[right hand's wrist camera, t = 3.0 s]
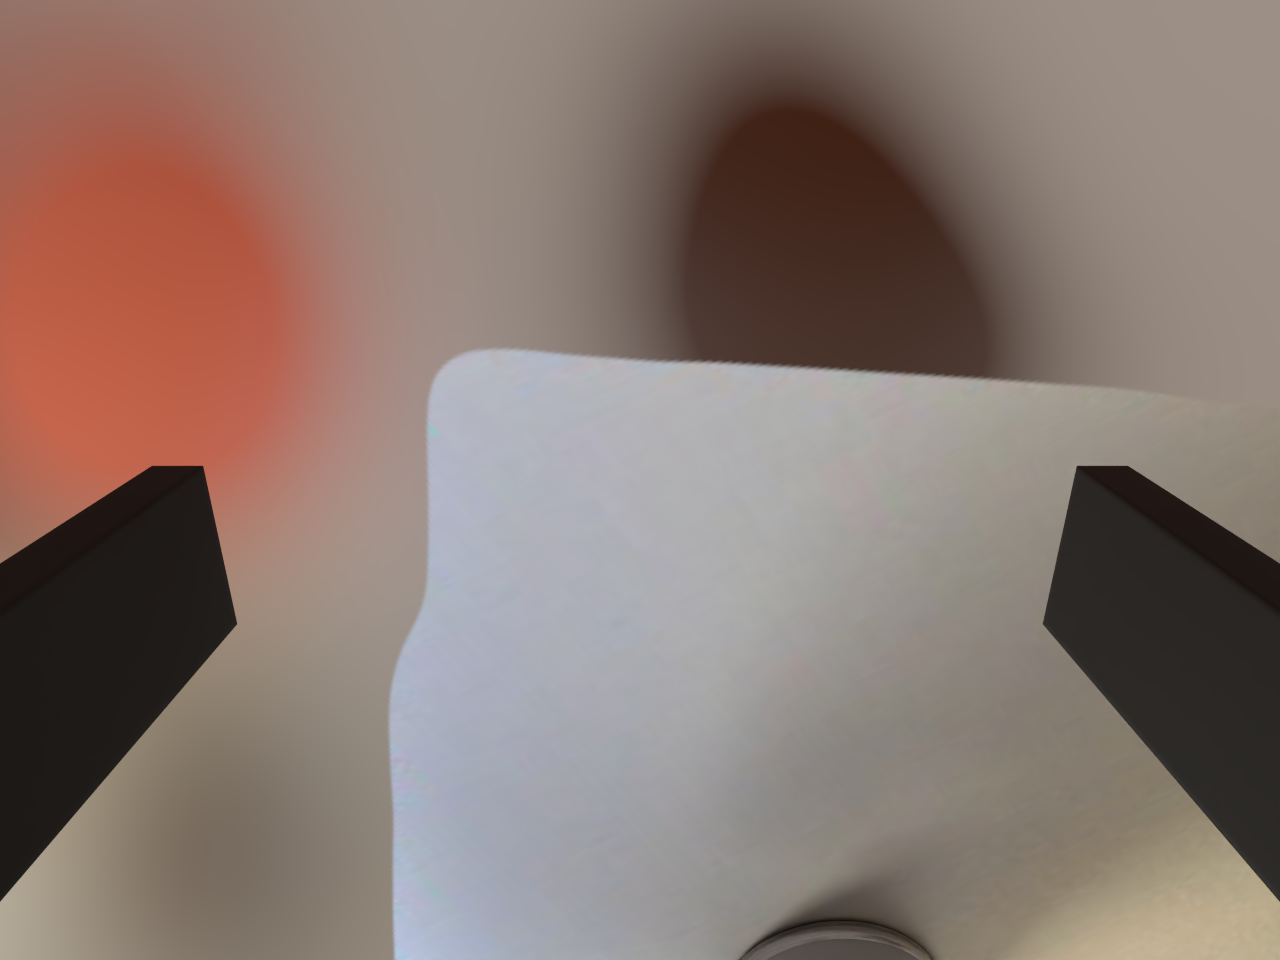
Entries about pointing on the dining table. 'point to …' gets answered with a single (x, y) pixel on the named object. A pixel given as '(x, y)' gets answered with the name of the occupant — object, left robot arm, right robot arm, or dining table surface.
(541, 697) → the dining table surface
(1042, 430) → the dining table surface
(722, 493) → the dining table surface
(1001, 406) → the dining table surface
